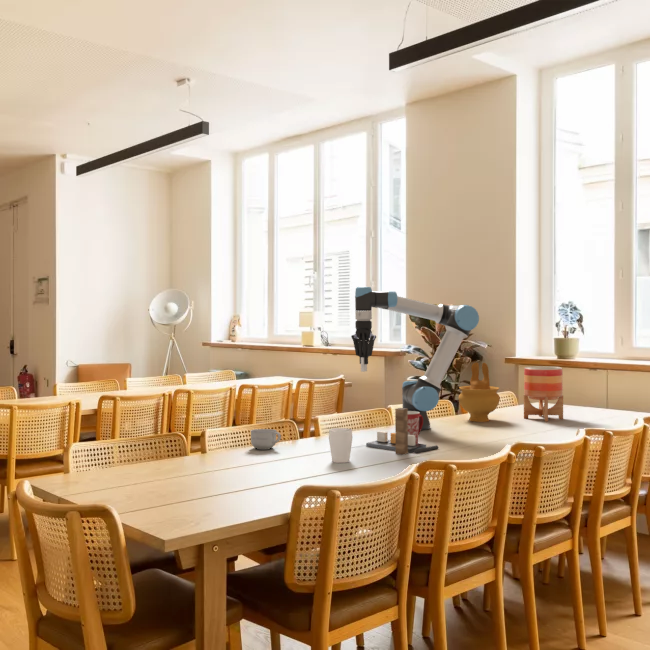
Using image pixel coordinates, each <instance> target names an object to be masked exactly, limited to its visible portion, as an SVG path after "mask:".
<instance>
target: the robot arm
mask: <svg viewBox="0 0 650 650" xmlns="http://www.w3.org/2000/svg"><path fill="white" fill-rule="evenodd" d="M354 293H355V295H354V298H355V301H354V303H355V304H354V305H355V308H354V309H355V311H354V312H355V316H354V317H355V320H356V321H355V327H354V328H355V332H354V334H352V335H351V336H350V337H351V339H352V342H353V347H354V350H355V355H356V356H358V357H359V364H360V372H361V373H362V372H364V373H365V372H368V364H369V357H371V356H373V350H374V344H375V341H376V339H377V336H376V335H375V334H373V331H372V327H373V321H372V319H373V317H372V316H373V313H372V311H373V310H372V309H373V308H376V309H382V310H387V311H392V312H395V313H396V312H397V313H400V314H405V315H409V316H413V317H418V318H423V319H427V320H430V321H433V322H435V324H437V325H441V326H444V327H445V330H446V331H445V333H444V335H443V337H442V338H441V341H440V343H439V345H438V347H437V349H436V351H435V353H434V355H433V356H432V359H431V361H430V363H429V365H428V366H427V368H426V371H425V372H424V374H423V375H422V376H420V377H418V379H417V380H406V381H403V382H402V386H401V389H402V390H401V391H402V394H401V395H402V408H407V409H408V411H416V412H420V414H419V415H421V416H422V417H423V425H422V428H421V431H424V430H429V429H431V422H430V419H429V416H428V412H429V411H433V409H435V408H436V407H437V405H438V404H439V401H440V397H439V395H440V393H441V390H442V386H441V384H442V381H443V380H444V377H445V375H446V374H447V371H448V369H449V368H450V366H451V363H452V362H453V360H454V358H455V355H456V353H457V351H458V350H459V348H460V346H461V344H462V342H463V340H464V339H467V338H468V337H469V335H470V333H471V332H472V330H474V329H475V328H476V327H477V326H478V324H479V321H480V316H479V313H478V310H477V309H476V308H475V307H473V306H472V305H469V304H458V305H455V304H454V305H450V304H449V305H447V304H442V303H440V304H438V305H437V304H434V303H428V302H424V301H419V300H415V299H412V298H407V297H403V296H402V297H401V296H399V295H398V293H397V292H396V291H394V290H378V291H377V290H372V287H371V286H358V287H357V286H356V288H355V291H354ZM419 423H420V418H419Z"/></svg>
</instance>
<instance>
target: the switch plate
mask: <svg viewBox="0 0 650 650" xmlns="http://www.w3.org/2000/svg"><path fill="white" fill-rule="evenodd" d="M365 444H366V445H365V446H366V447H367V448H375V449H381V450H387V451H394V452H396V444H395V443H391V439H388V441H387V442H381V441H377V440H373V441H370V442H366V443H365ZM426 447H427V444H423V443H418V444H417V443H415V445H414V446H410V445H408V453H415V452H414V450H416V449H421V448H426ZM408 453H407V454H408Z"/></svg>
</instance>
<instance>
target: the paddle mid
mask: <svg viewBox="0 0 650 650" xmlns="http://www.w3.org/2000/svg"><path fill="white" fill-rule="evenodd" d="M390 440H391V443H395V444H396V432H391V433H390Z"/></svg>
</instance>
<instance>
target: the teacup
mask: <svg viewBox="0 0 650 650" xmlns="http://www.w3.org/2000/svg"><path fill="white" fill-rule="evenodd" d="M281 439H282V435H281V433H280V431H279V432H278V431H277V429H274V428H273V429H272V428H258V429H257V428H256V429H251V430H250V443H251V446H252V447H254V449H255V448H257V449H256V450H271V449H273V448H274V446H275V445H276V444H277V443H279V442H280V441H281ZM270 448H271V449H270Z"/></svg>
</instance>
